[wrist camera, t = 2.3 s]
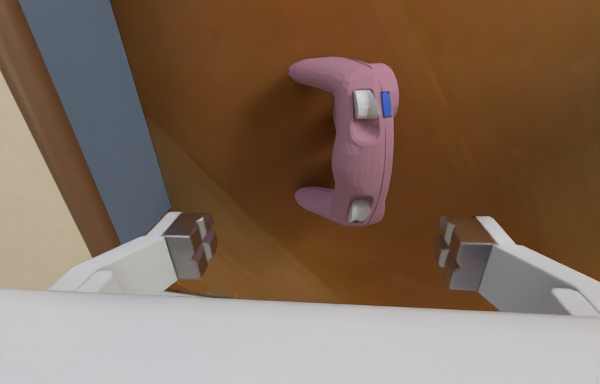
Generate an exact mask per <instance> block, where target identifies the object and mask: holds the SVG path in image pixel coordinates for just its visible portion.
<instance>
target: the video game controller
mask: <svg viewBox="0 0 600 384" xmlns="http://www.w3.org/2000/svg"><path fill="white" fill-rule="evenodd" d="M288 74H289V76H290V77H291V78H292V79H293V80H294V81H296V82H298V83H299V84H303V85H307V86H312V87H316V88H320V89H322V90H324V91H327V92H329V93H331V94H332V95H333V96H334V98H335V103H334V107H333V120H334V126H335V128H336V138H335V142H334V146H333V152H332V171H333V176H334V180H335V189H328V188H323V187H311V186H310V187H303V188H300V189H299V190H298V191H296V193H295V200H296V202H297V203H298V204H299V205H300V206H301V207H303V208H304V209H306V210H308V211H310V212H313V213H315V214H318V215H320V216H322V217H325V218H327V219H329V220H331V221H333V222H335V223H338V224H340V225H344V226H366V225H370V224H375V223H378V222H379V221H380V220H381V219H382V218H383V215H384V212H385V199H386V196H387V192H388V188H389V183H390V178H391V172H392V163H393V149H394V127H393V120H394V118H395V115H396V113H397V109H398V105H399V91H398V83H397V80H396V77H395V75H394V73H393V71H392V70H391V69H390V67H388V66H387V65H385V64H383V63H374V64H367V63H364V62H362V61H359V60H355V59H350V58H345V57H322V58H311V59H305V60H301V61H299V62H296V63H294V64H293V65H291V66H290V68H289V70H288Z"/></svg>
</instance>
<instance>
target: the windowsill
mask: <svg viewBox="0 0 600 384" xmlns="http://www.w3.org/2000/svg"><path fill="white" fill-rule="evenodd" d="M170 208H171V204H170V201H169V198H168V194H167V191H166V187H165V184H164V181H163V177H162V174H161V171H160V167H159V164H158V161H157V157H156V154H155V151H154V147H153V144H152V141H151V137H150V134H149V130H148V127H147V124H146V120H145V117H144V114H143V110H142V107H141V104H140V100H139V97H138V94H137V90H136V87H135V83H134V80H133V77H132V73H131V70H130V67H129V63H128V60H127V57H126V53H125V50H124V47H123V43H122V40H121V37H120V33H119V30H118V26H117V23H116V20H115V16H114V13H113V10H112V6H111V3H110V0H0V288H16V289H37V290H46V289H47V288H48V287H50V286H51V285H52V284H53V283H54V282H55V281H56V280H58V279H59V278H60V277H61V276H62V275H63V274H64V273H66V272H67V271H68V270H69V269H70V268H72V267H74V266H76V265H78V264H81V263H83V262H85V261H87V260H90V259H92V258H94V257H96V256H98V255H101V254H103V253H105V252H107V251H110V250H112V249H114V248H116V247H118V246H121V245H123V244H125V243H127V242H130V241H132V240H134V239H136V238H138V237H141V236H144V235H145V234H146V233H147V232H148V231H149V230H150V229H151V228H152V227H153V226H154V225H155V224H156V223H157V222H158V221H159V220H160V219H161V218H162V217H163V216H164V215H165V213H166V212H167V211H168V210H169V209H170Z"/></svg>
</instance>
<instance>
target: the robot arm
mask: <svg viewBox="0 0 600 384" xmlns="http://www.w3.org/2000/svg"><path fill="white" fill-rule="evenodd" d="M212 225H213V219H212V215H211V214H210V213H197V212H168V213H167V214H166V215H165V216H164V217H163V219H162V220H161V221H160V222H159V223H158V224H157V225H156V226H155V227H154V228H153V229H152V230H151V231H150V232H149V233H148V234H147V235H146V236H141V237H138V238H136V239H134V240H132V241H130V242H127V243H125V244H123V245H121V246H118V247H116V248H114V249H112V250H110V251H107V252H105V253H103V254H101V255H98V256H96V257H94V258H92V259H90V260H87V261H85V262H83V263H81V264H78V265H76V266H74V267H72V268H70V269H69V270H68V271H67V272H66V273H64V274H63V275H62V276H61V277H60V278H59V279H58V280H56V281H55V282H54V283H53V284H52V285H51V286H50V287H48V288H47V289H46V290H37V289H16V288H0V384H600V282H599V281H596V280H594V279H592V278H590V277H588V276H586V275H584V274H582V273H580V272H577V271H575V270H573V269H571V268H569V267H567V266H565V265H563V264H561V263H558V262H556V261H554V260H552V259H550V258H548V257H546V256H544V255H541V254H539V253H537V252H535V251H533V250H531V249H529V248H527V247H525V246H522V245H516V244H515V243H514V241H513V240H512V239H511V238H510V237H509V236H508V235H507V234H506V232H505V231H504V230H503V229H502V228H501V227H500V226H499V224H498V223H497V222H496V221H495V220H494V219H493V218H492V217H490V216H473V217H441V219H440V221H439V225H438V228H439V230H440V232H441V234H440V235H438V236H437V237H436V239H435V245H434V249H435V257H436V261H437V263H438V265H439V266H441V267H442V268H443V269H444V271H443V276H444V278H445V281H446V283H447V285H448V287H449V289H452V290H467V291H478V293H479V294H480V295H482V296H483V297H484V298H485V299H486V300H488V301H489V302H490V303H491V304H492V305H494V306H495V307H496V308H497V309H498V310H500V311H501V312H494V311H473V310H452V309H431V308H410V307H389V306H368V305H348V304H327V303H306V302H285V301H265V300H244V299H223V298H203V297H181V296H161V295H158V294H160V293H161V292H163V291H164V290H165V289H167V288H168V287H169V286H171V285H172V284H173V283H175V282H176V281H177V280H178V279H201V278H202V276H203V274H204V273H205V271H206V269H207V267H208V263H207V261H208V260H210V259H211V258H213V256H214V254H215V252H216V247H217V237H216V233H215V232H214V231H213V230H212V229H211V227H212Z"/></svg>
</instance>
